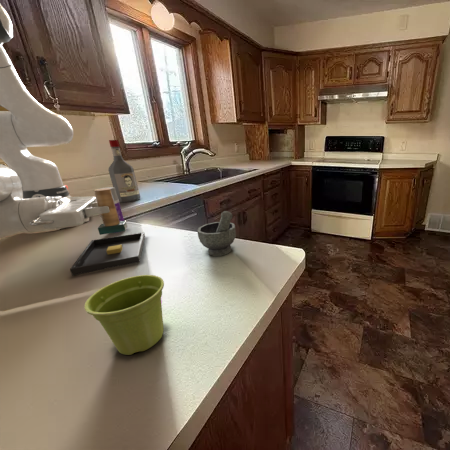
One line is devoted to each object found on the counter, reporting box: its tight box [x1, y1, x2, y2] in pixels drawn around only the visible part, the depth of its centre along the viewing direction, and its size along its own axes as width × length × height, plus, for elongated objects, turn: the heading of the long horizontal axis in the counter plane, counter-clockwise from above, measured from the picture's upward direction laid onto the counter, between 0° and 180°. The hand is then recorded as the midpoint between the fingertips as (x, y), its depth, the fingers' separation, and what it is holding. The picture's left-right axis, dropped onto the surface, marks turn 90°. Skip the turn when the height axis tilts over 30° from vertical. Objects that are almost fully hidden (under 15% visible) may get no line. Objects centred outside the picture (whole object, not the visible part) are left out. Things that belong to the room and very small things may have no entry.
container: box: [99, 186, 128, 234], centre depth 81 cm, size 5×5×15 cm
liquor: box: [108, 139, 141, 203], centre depth 124 cm, size 9×9×30 cm
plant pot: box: [83, 274, 165, 356], centre depth 36 cm, size 9×9×9 cm
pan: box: [69, 231, 146, 276], centre depth 66 cm, size 19×13×2 cm
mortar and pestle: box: [197, 210, 237, 257], centre depth 65 cm, size 11×9×12 cm
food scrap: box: [107, 245, 122, 255], centre depth 67 cm, size 3×3×1 cm
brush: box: [93, 187, 128, 236], centre depth 68 cm, size 4×6×12 cm, turn 117°
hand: (111, 206), depth 68 cm, fingers closed on brush, 3 cm apart
